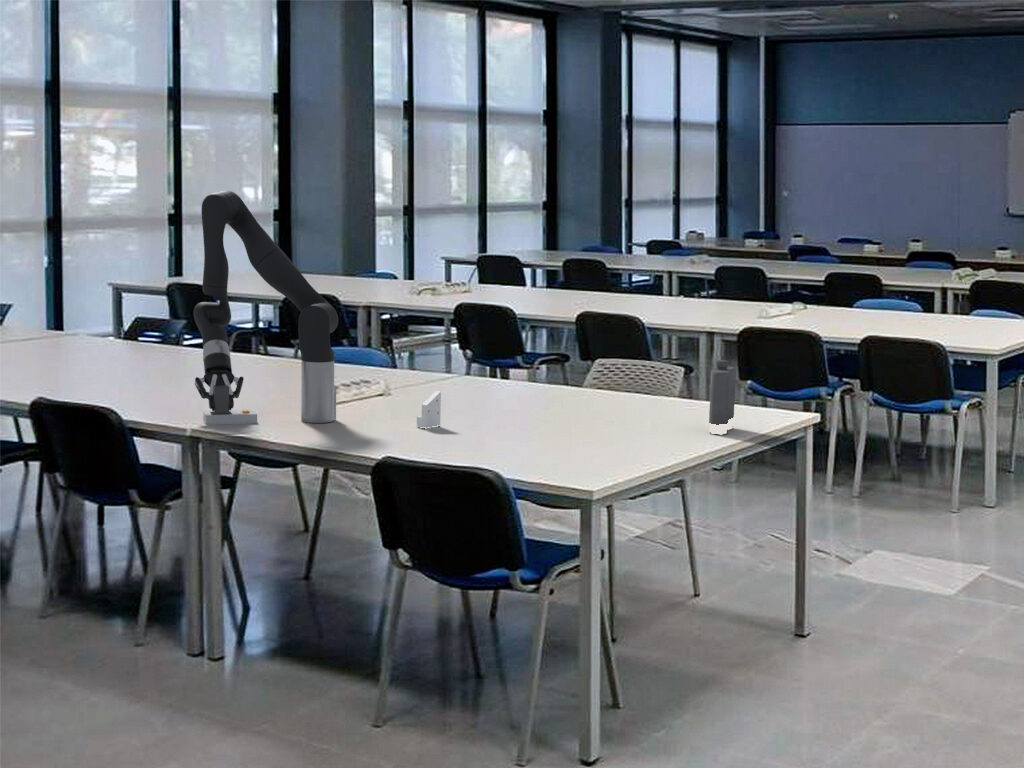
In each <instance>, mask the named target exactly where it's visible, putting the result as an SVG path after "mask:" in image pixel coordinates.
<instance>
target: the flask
mask: <svg viewBox="0 0 1024 768" xmlns="http://www.w3.org/2000/svg"><path fill="white" fill-rule="evenodd" d="M729 365H730V364H729V361H728V360H724V359H723V360H722V359H718V360H717V361H716V360H715V368H713V369H711V371H710V387H709V388H710V389H709V390H710V391H709V392H710V394H709V411H708V413H709V414H708V416H709V417H708V418H709V419H708V424H709V423H711V424H716V425H719V424H727V423H728V420H729V419H731V418H733V417H735V397H736V396H735V395H736V376H737V374H736V373H737V369H736V367H733V366H729Z"/></svg>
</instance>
